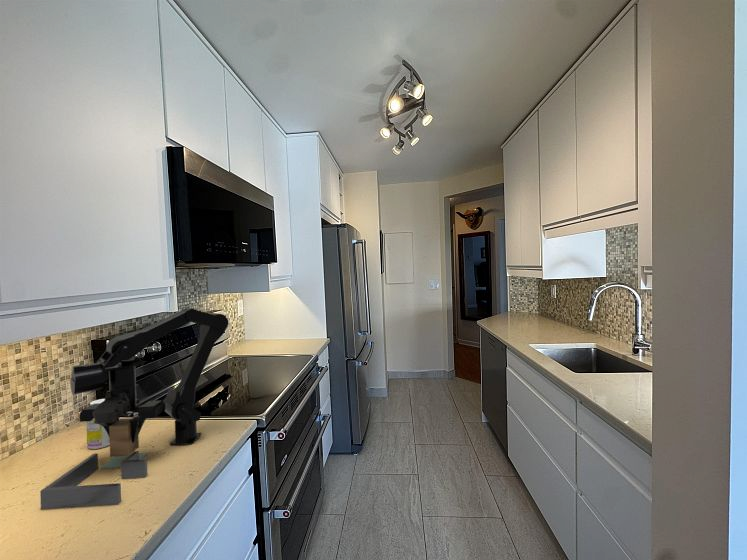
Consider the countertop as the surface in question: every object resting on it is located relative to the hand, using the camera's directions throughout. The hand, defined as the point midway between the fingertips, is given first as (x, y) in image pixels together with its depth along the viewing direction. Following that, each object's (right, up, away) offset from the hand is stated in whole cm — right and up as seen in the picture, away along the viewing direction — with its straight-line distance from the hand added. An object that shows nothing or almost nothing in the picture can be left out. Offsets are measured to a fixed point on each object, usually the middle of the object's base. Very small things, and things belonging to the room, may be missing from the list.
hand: (124, 442), depth 92 cm
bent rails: (+3, -5, -11) cm, 12 cm away
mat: (0, -5, 0) cm, 5 cm away
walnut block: (0, -3, 0) cm, 2 cm away
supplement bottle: (-14, -5, +10) cm, 18 cm away
